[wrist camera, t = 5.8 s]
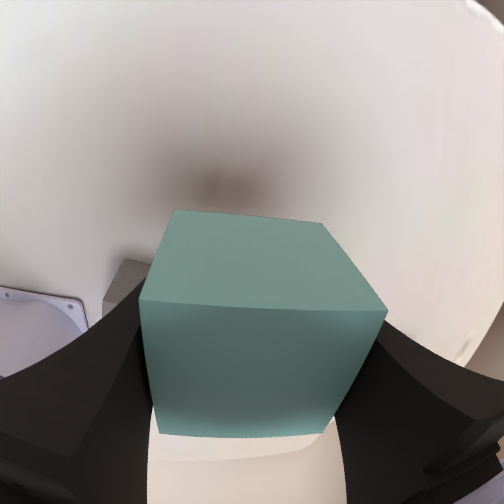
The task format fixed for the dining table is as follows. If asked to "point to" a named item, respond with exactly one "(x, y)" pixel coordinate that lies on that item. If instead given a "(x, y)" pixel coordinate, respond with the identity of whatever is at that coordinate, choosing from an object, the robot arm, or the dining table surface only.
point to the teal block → (253, 326)
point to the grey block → (124, 283)
